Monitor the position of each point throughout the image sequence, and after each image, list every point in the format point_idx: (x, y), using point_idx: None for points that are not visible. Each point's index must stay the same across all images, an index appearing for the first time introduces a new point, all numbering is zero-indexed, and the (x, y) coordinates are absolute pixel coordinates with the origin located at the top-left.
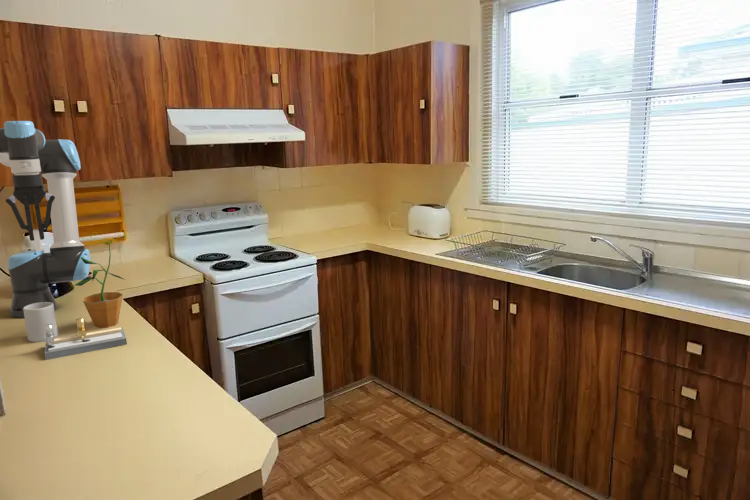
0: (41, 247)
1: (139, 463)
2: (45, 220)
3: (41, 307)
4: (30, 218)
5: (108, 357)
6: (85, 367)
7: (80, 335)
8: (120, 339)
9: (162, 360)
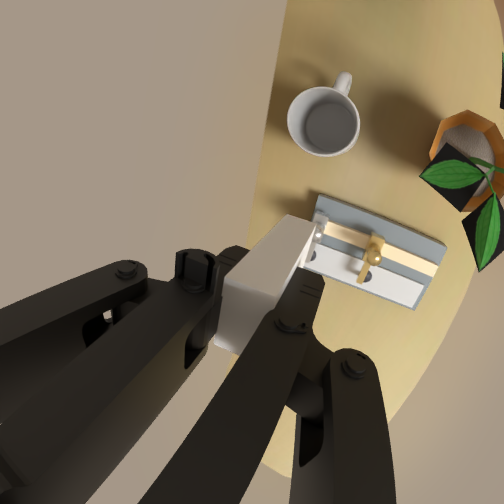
0: (304, 258)
1: (275, 457)
2: (297, 456)
3: (336, 94)
4: (142, 424)
5: (364, 330)
6: (326, 336)
7: (356, 281)
8: (406, 307)
9: (393, 386)
